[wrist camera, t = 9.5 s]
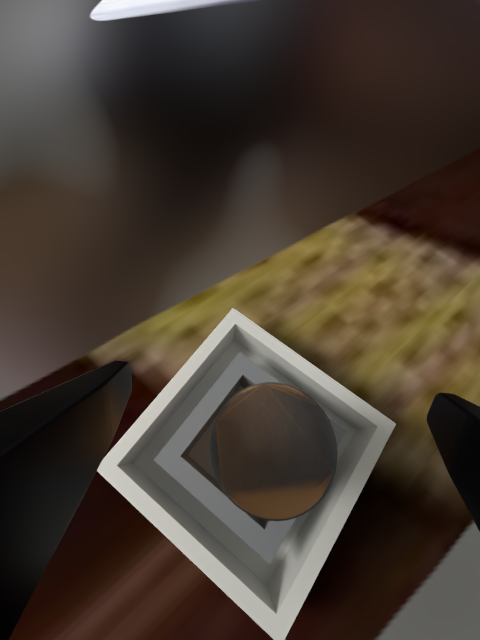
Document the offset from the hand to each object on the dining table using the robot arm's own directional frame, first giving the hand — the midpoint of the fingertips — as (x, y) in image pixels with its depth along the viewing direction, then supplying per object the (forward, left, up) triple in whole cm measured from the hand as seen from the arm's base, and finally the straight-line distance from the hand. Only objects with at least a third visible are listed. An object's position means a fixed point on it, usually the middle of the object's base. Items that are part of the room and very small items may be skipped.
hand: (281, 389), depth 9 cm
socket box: (-1, +1, -13) cm, 13 cm away
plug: (-1, +1, -13) cm, 13 cm away
